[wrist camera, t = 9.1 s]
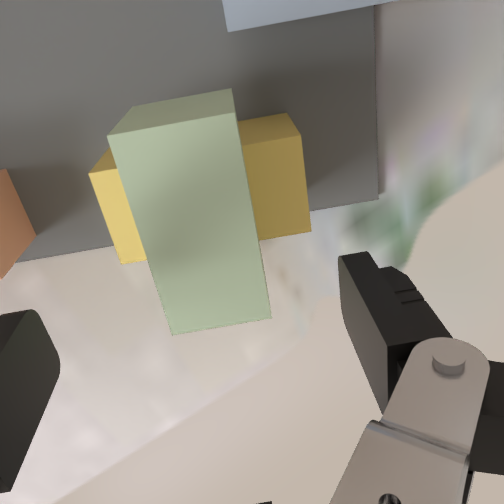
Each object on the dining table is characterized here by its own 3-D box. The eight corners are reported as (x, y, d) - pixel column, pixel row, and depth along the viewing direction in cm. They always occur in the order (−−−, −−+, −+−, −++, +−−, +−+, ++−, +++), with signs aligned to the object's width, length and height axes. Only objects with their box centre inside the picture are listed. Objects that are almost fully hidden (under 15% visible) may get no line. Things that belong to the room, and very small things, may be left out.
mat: (-45, 270, 23) (-49, 274, 23) (-214, -20, 17) (-223, -21, 16) (376, 196, 22) (378, 199, 22) (366, -134, 16) (370, -137, 16)
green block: (132, 106, 15) (106, 136, 12) (231, 88, 15) (234, 112, 12) (181, 274, 19) (172, 335, 15) (262, 260, 19) (272, 318, 15)
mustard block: (137, 223, 22) (121, 264, 18) (111, 144, 20) (88, 173, 16) (296, 195, 22) (311, 231, 18) (287, 112, 20) (300, 135, 16)
